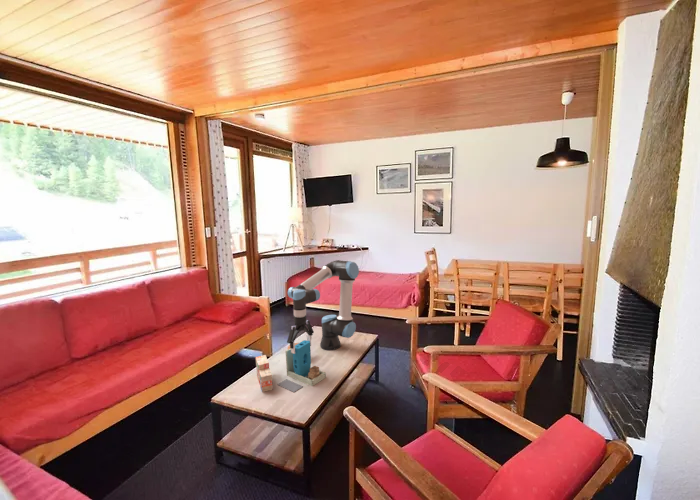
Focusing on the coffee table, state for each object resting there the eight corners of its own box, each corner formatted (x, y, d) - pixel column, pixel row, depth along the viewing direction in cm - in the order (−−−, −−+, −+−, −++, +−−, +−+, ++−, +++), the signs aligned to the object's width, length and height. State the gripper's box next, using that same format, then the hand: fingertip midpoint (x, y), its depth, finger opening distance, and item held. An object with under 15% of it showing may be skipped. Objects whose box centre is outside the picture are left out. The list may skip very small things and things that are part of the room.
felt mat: (286, 379, 194) (286, 379, 194) (302, 386, 186) (302, 386, 186) (277, 384, 189) (277, 384, 189) (294, 392, 180) (293, 391, 180)
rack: (300, 367, 209) (299, 344, 207) (325, 377, 196) (324, 352, 194) (286, 375, 199) (285, 350, 197) (312, 386, 186) (310, 360, 184)
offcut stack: (315, 376, 197) (314, 364, 196) (320, 378, 194) (320, 366, 193) (308, 380, 192) (307, 369, 191) (313, 383, 189) (313, 371, 188)
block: (300, 380, 193) (298, 349, 190) (293, 378, 195) (291, 347, 193) (312, 371, 203) (310, 341, 200) (305, 369, 205) (304, 340, 203)
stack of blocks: (273, 389, 184) (271, 369, 182) (261, 392, 181) (260, 372, 180) (266, 372, 203) (265, 354, 202) (256, 375, 201) (255, 356, 199)
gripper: (309, 309, 206) (311, 340, 209) (279, 320, 186) (281, 355, 189) (318, 311, 202) (319, 343, 204) (288, 322, 182) (290, 358, 184)
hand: (301, 349), depth 197 cm, fingers open, 13 cm apart
